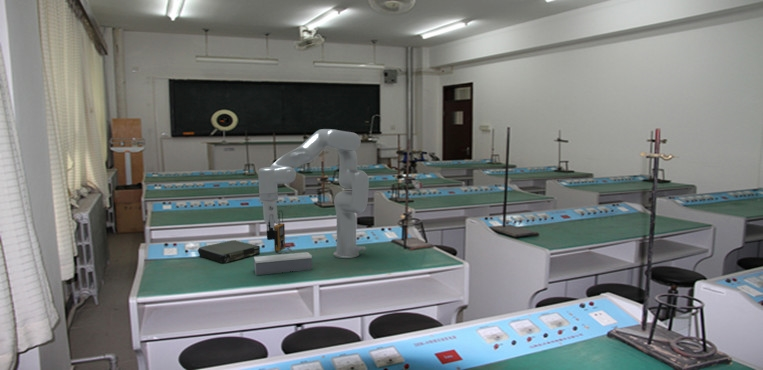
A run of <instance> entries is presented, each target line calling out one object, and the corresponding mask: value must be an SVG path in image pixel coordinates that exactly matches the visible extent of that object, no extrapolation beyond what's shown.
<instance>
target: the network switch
mask: <svg viewBox="0 0 763 370" xmlns="http://www.w3.org/2000/svg"><path fill="white" fill-rule="evenodd" d="M260 254H261V248H260V245H257V244H252V243H248V242H245V241H239V240H236V239H234V240H227V241H223V242H218V243H213V244H207V245H204V246H200V247H199V248H198V255H199V256H200V257H201V258H205V259H209V260H211V261H214V262H217V263H220V264H226V263H229V262H233V261H237V260H241V259H243V258H247V257H248V258H249V257H251V256H256V255H257V256H258V255H260Z"/></svg>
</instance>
